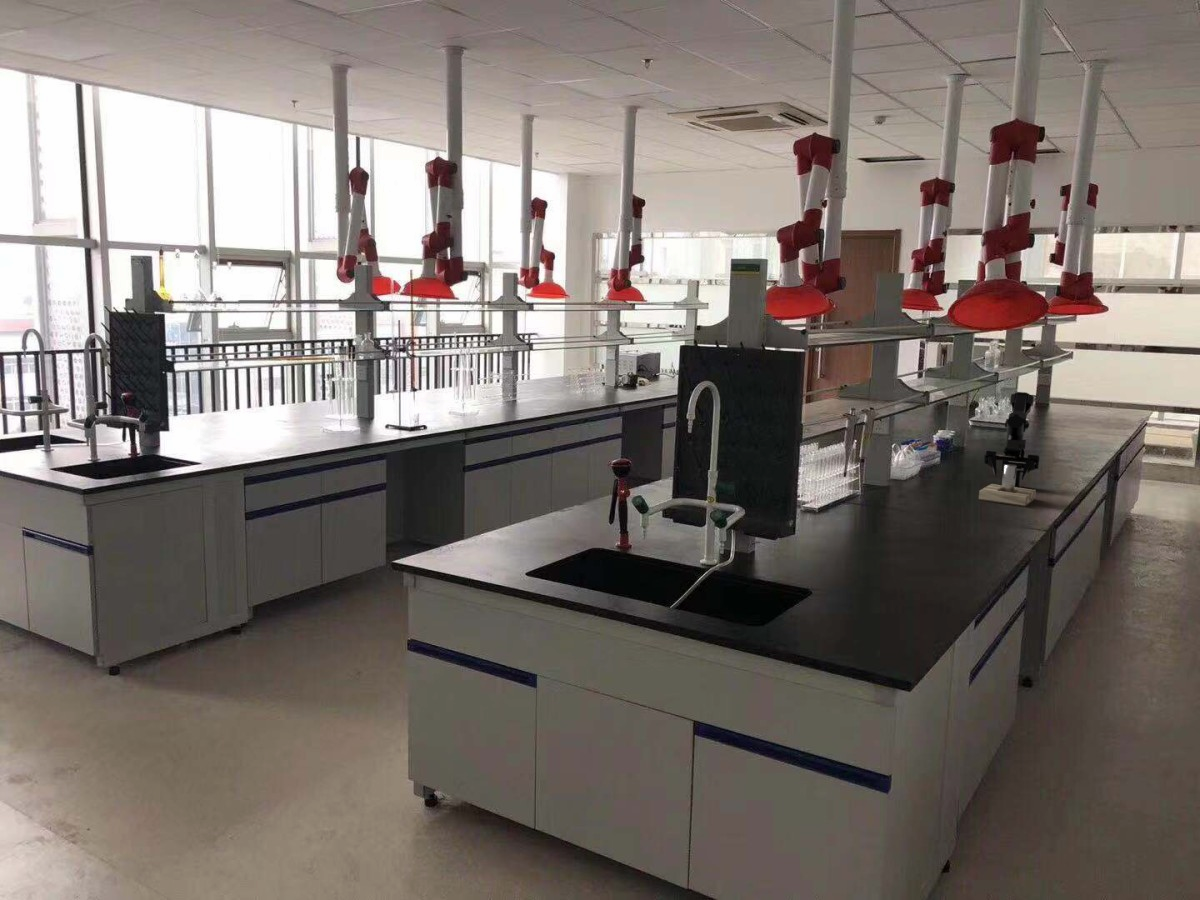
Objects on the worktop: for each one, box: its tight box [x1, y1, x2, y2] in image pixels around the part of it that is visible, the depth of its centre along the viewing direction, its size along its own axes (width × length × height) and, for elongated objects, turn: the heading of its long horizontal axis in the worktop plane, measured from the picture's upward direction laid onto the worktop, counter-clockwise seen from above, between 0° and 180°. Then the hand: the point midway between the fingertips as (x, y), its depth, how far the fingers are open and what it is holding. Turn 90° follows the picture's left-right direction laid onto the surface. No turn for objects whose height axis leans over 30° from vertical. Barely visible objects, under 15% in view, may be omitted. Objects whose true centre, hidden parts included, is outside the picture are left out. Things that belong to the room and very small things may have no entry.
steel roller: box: [1001, 464, 1017, 493], centre depth 343 cm, size 4×4×12 cm
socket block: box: [978, 483, 1037, 508], centre depth 344 cm, size 16×16×4 cm
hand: (1008, 477), depth 342 cm, fingers open, 9 cm apart
